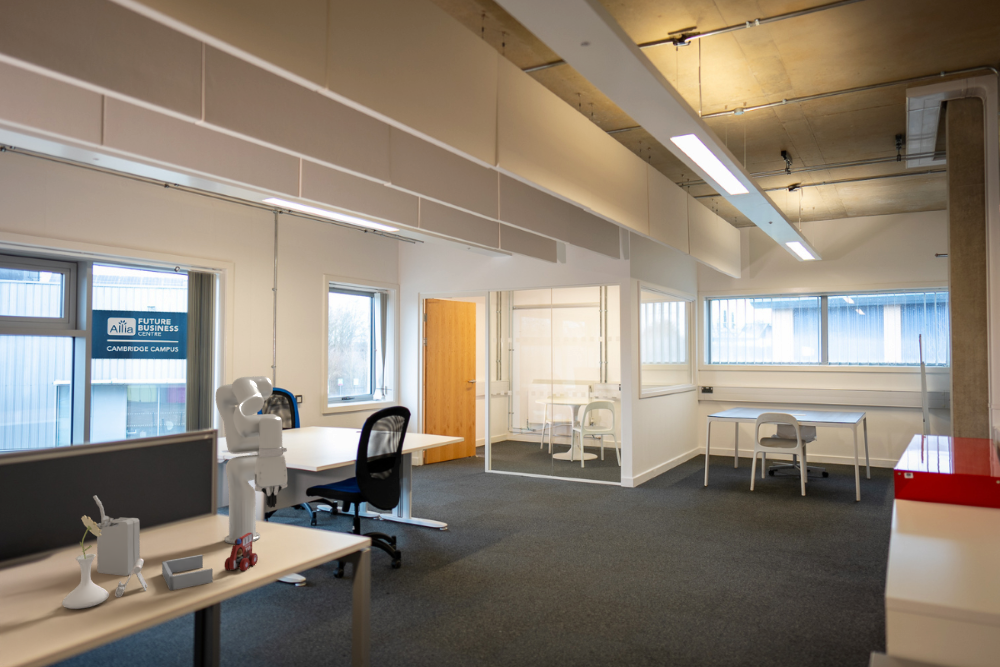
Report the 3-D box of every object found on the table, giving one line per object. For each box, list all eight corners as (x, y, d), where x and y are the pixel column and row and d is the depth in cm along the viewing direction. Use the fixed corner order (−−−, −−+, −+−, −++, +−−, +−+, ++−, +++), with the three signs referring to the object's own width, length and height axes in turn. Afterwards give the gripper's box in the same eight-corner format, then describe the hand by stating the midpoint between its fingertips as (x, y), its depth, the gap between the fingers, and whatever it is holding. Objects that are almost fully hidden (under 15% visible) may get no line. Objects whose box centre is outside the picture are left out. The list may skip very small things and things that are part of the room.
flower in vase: (109, 606, 188) (109, 518, 188) (61, 616, 182) (61, 524, 182) (107, 592, 199) (107, 509, 199) (62, 601, 193) (62, 515, 193)
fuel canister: (90, 572, 218) (90, 496, 218) (103, 567, 222) (103, 492, 223) (127, 576, 213) (126, 498, 214) (139, 571, 218) (139, 495, 218)
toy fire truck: (220, 573, 214) (220, 541, 214) (241, 561, 226) (241, 530, 227) (240, 574, 213) (240, 542, 213) (260, 562, 225) (260, 531, 226)
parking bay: (162, 573, 215) (162, 561, 215) (202, 566, 221) (202, 554, 221) (170, 590, 200) (170, 577, 200) (212, 582, 206) (212, 569, 207)
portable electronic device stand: (119, 588, 203) (118, 560, 203) (148, 584, 206) (147, 557, 206) (115, 598, 195) (115, 569, 195) (145, 593, 198) (145, 565, 198)
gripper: (289, 449, 233) (290, 501, 233) (245, 453, 225) (246, 507, 225) (296, 451, 227) (296, 505, 227) (250, 456, 219) (251, 512, 218)
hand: (271, 506), depth 226 cm, fingers closed
